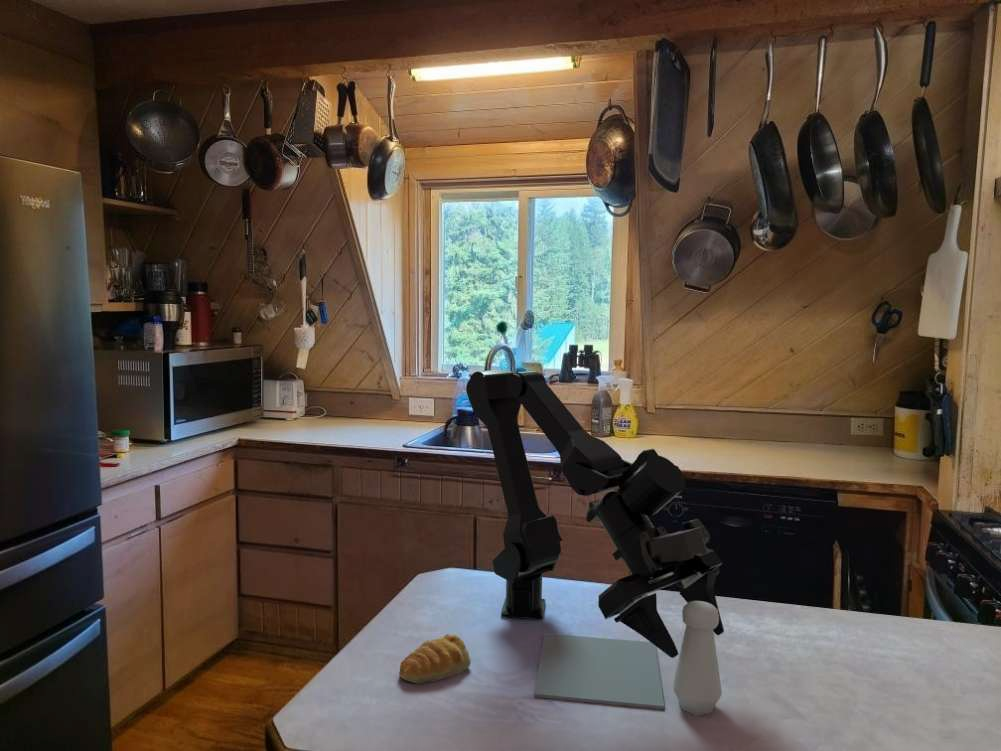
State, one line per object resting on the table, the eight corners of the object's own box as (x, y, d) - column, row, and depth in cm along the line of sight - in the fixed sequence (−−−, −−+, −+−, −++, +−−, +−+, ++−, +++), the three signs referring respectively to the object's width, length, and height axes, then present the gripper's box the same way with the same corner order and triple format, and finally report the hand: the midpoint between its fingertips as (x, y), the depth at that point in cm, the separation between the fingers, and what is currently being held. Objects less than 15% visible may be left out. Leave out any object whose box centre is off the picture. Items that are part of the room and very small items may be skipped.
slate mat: (544, 635, 105) (544, 633, 105) (655, 645, 103) (655, 642, 103) (533, 696, 90) (533, 693, 90) (664, 709, 87) (664, 706, 87)
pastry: (417, 695, 90) (417, 666, 90) (388, 673, 95) (388, 646, 95) (474, 669, 96) (475, 642, 96) (444, 650, 101) (444, 624, 101)
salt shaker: (723, 699, 90) (729, 600, 88) (717, 724, 84) (723, 620, 83) (676, 688, 92) (681, 591, 90) (667, 711, 87) (672, 610, 85)
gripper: (618, 515, 84) (693, 641, 76) (713, 489, 95) (785, 596, 88) (570, 560, 91) (634, 679, 83) (663, 530, 102) (727, 632, 95)
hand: (699, 644), depth 87 cm, fingers open, 9 cm apart
